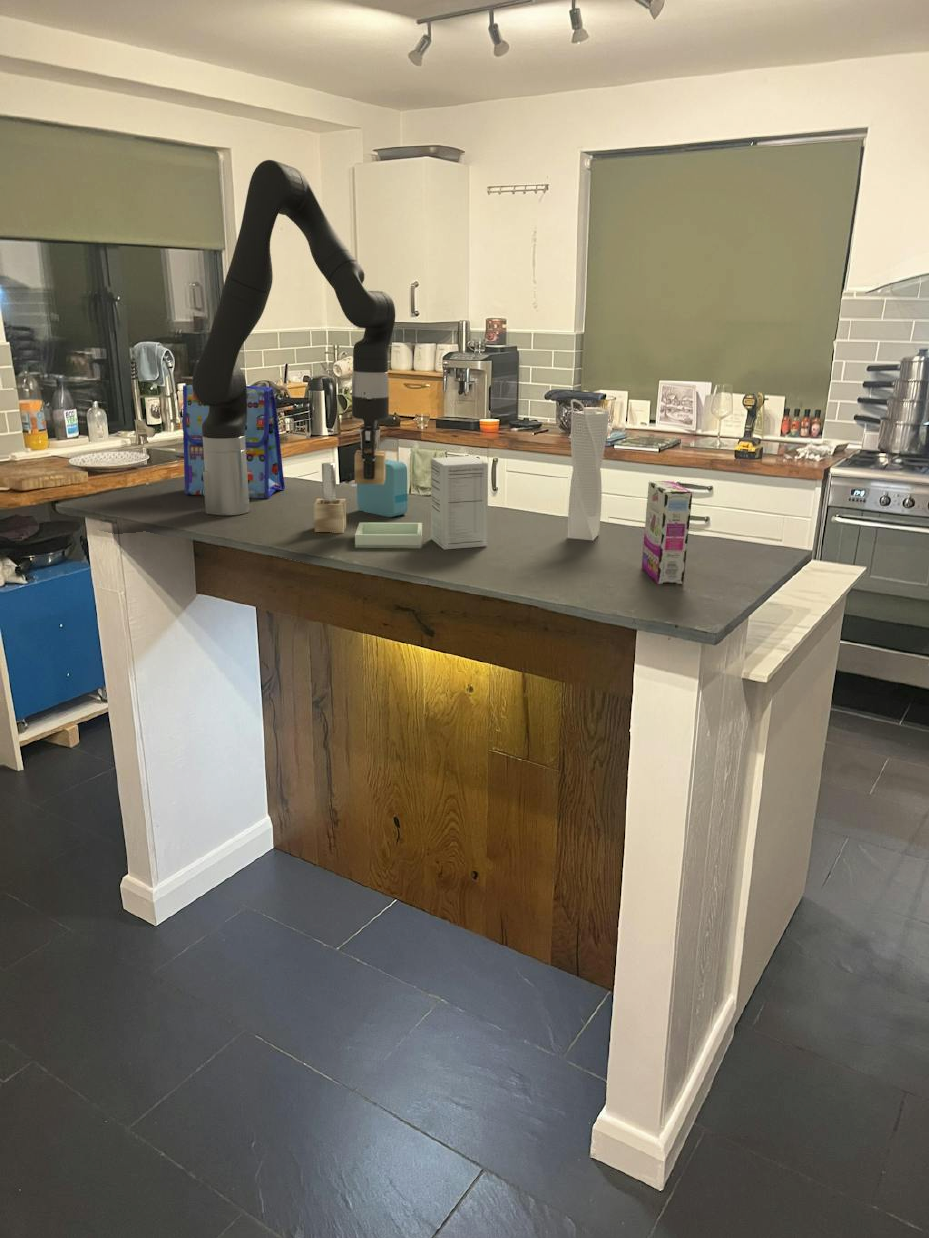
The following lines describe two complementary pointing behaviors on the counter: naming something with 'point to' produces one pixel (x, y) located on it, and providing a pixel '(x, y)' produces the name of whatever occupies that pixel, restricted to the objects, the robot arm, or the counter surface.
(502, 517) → the counter surface
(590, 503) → the skyscraper
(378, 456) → the oak block narrow bore
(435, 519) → the supplement box
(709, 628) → the counter surface
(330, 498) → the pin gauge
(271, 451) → the lunch bag
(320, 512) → the beech block wide bore
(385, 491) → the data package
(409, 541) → the tray
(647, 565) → the candy bar box
